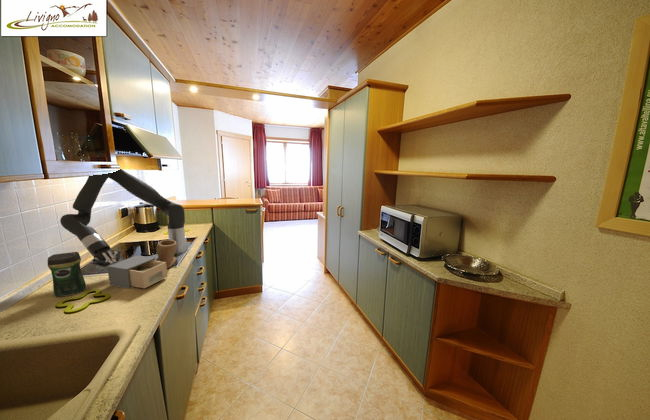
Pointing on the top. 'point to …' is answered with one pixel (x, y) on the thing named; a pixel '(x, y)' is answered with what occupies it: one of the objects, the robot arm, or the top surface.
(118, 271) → the sleeve
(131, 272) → the tray
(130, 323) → the top surface
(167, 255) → the stone cup
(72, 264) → the coffee jar
